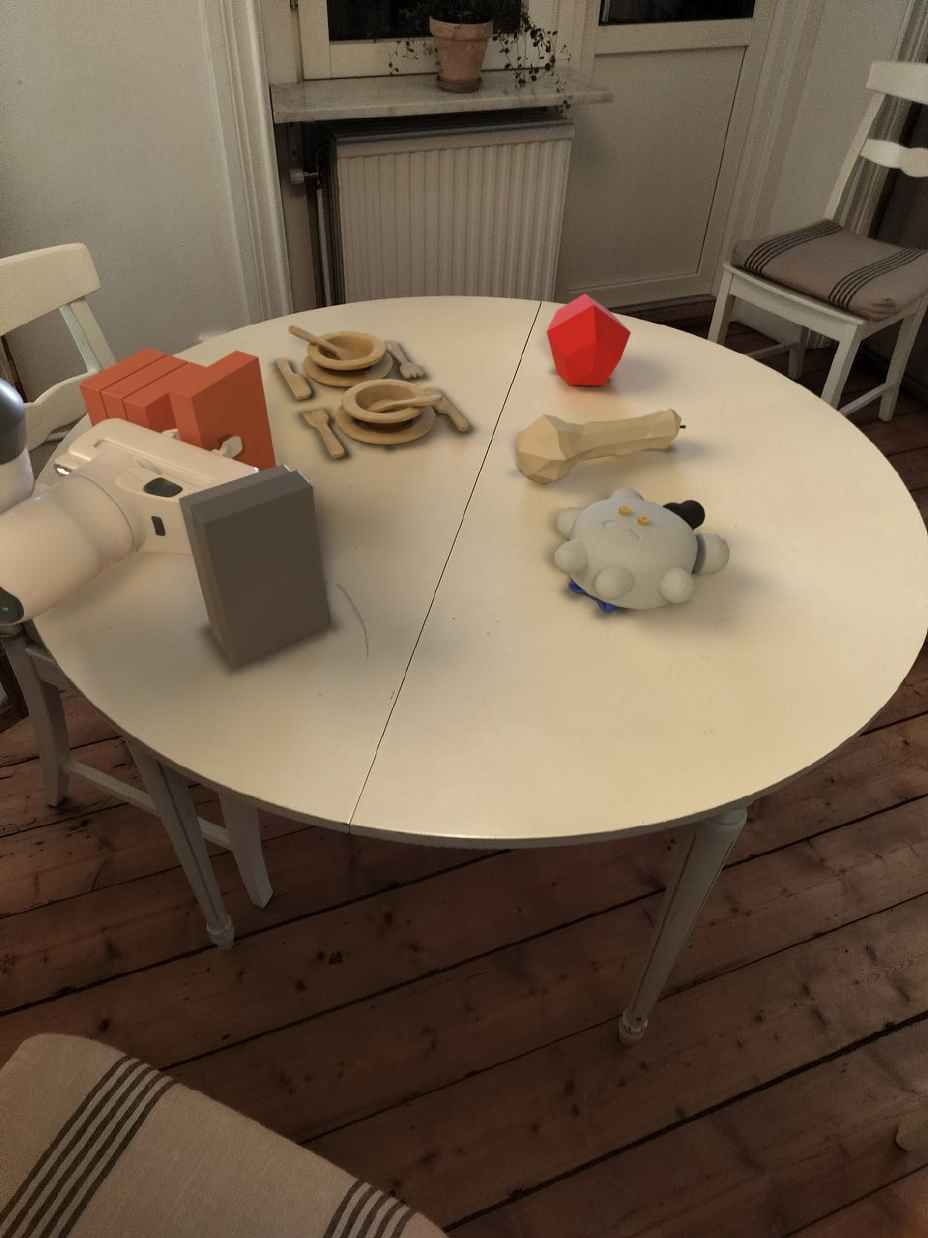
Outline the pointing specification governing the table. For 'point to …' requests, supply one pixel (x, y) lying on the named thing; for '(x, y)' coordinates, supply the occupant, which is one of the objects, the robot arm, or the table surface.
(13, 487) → the robot arm
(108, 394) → the matching books
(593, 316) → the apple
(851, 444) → the table surface
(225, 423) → the terracotta book
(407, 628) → the table surface
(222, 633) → the grey books
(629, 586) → the figurine
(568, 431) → the faceted club
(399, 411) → the tableware set
